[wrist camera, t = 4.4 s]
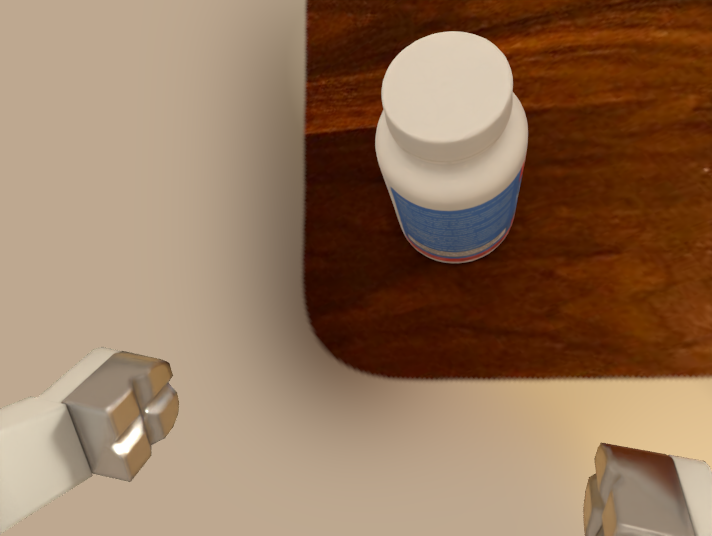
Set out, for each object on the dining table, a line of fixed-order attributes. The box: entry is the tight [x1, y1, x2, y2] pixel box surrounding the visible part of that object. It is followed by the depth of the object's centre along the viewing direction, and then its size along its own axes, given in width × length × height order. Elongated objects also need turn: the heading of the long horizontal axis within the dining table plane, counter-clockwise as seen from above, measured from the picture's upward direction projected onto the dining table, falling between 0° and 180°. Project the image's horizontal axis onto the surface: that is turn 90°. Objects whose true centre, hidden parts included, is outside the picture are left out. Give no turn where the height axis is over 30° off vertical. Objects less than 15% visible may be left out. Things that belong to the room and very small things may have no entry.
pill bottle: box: [375, 31, 528, 263], centre depth 21 cm, size 6×5×10 cm
